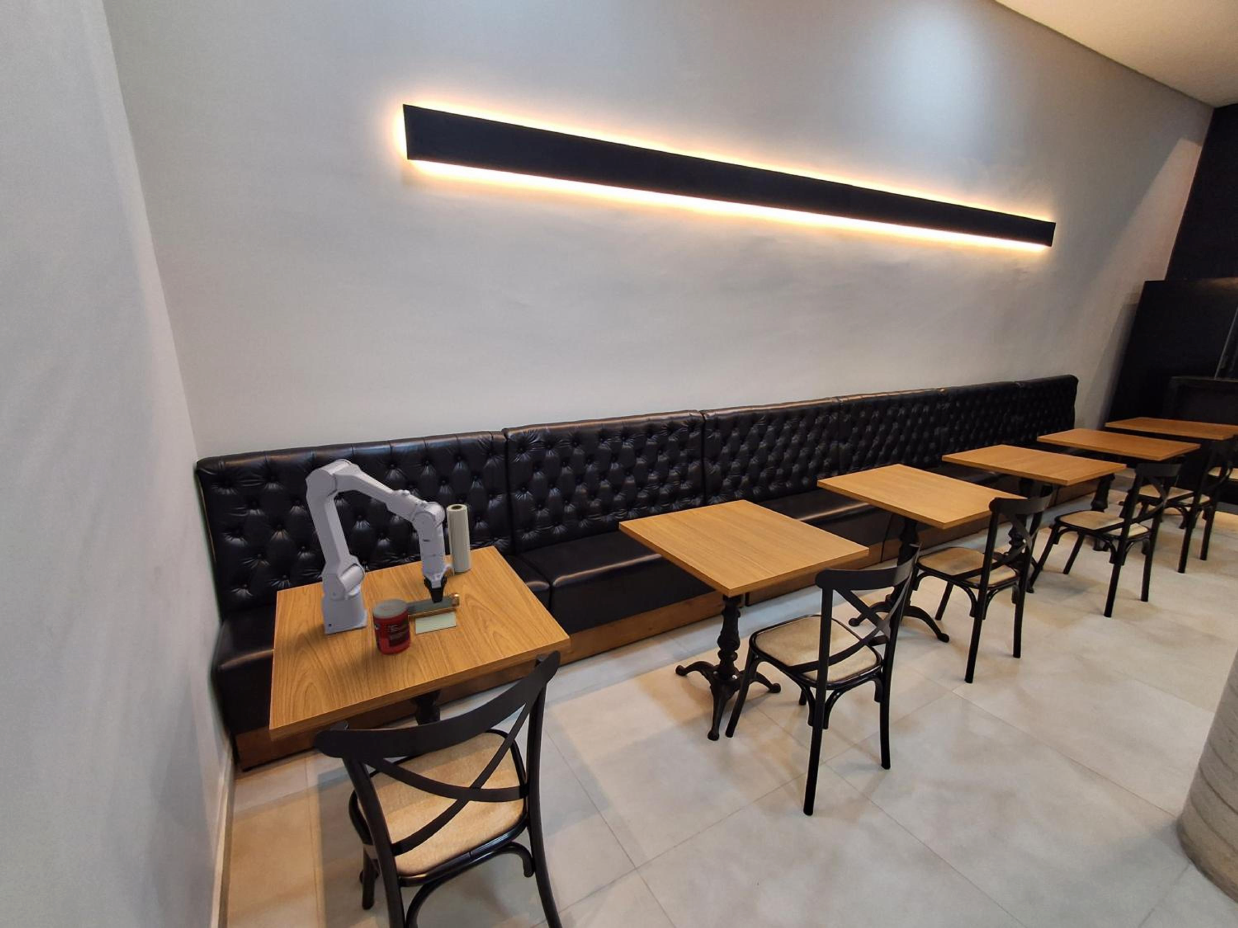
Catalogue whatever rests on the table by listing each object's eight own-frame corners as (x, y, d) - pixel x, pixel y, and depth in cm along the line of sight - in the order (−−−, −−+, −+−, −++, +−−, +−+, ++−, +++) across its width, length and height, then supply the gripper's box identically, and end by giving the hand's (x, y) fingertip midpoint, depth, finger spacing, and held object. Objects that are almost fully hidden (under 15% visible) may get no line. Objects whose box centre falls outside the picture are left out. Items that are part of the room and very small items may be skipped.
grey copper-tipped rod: (388, 619, 134) (387, 608, 133) (389, 614, 136) (387, 603, 136) (460, 606, 141) (459, 595, 140) (459, 601, 143) (458, 590, 142)
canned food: (386, 635, 129) (380, 597, 126) (416, 636, 129) (412, 598, 126) (371, 655, 122) (365, 615, 119) (403, 656, 122) (398, 616, 119)
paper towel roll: (466, 562, 168) (461, 502, 162) (474, 568, 164) (470, 507, 158) (445, 569, 163) (439, 507, 157) (453, 576, 159) (447, 513, 153)
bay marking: (415, 634, 130) (415, 633, 130) (415, 619, 136) (415, 619, 136) (456, 626, 134) (456, 625, 134) (454, 612, 140) (453, 611, 140)
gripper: (451, 561, 122) (456, 610, 126) (447, 537, 135) (451, 582, 139) (420, 566, 119) (425, 616, 123) (418, 541, 132) (423, 587, 136)
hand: (437, 599), depth 131 cm, fingers closed
